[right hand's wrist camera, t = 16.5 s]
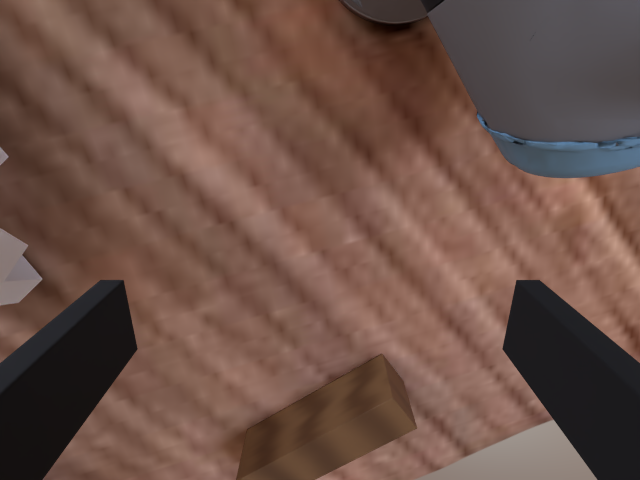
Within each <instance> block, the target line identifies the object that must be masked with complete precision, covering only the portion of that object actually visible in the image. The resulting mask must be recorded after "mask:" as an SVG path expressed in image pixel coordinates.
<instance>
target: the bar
mask: <svg viewBox="0 0 640 480" xmlns="http://www.w3.org/2000/svg"><path fill="white" fill-rule="evenodd" d="M415 429H417V426H416V423H415V419H414V416H413V412H412V409H411V406H410V402H409V399H408V395H407V392H406V389H405V385H404V382H403V380H402V379H401V378H400V376H399V375H398V374H397V372H396V371H395V370H394V368H393V367H392V366H391V365H390V363H389V362H388V361H387V359H386V358H385V357H384V356H383V354H381V355H379V356H378V357H376V358H374V359H372V360H370V361H369V362H367V363H365V364H363V365H362V366H360V367H358V368H356V369H354V370H353V371H351V372H349V373H347V374H346V375H344V376H342V377H340V378H338V379H337V380H335V381H333V382H331V383H329V384H328V385H326V386H324V387H322V388H321V389H319V390H317V391H315V392H313V393H312V394H310V395H308V396H306V397H305V398H303V399H301V400H299V401H297V402H296V403H294V404H292V405H290V406H288V407H287V408H285V409H283V410H281V411H280V412H278V413H276V414H274V415H272V416H271V417H269V418H267V419H265V420H264V421H262V422H260V423H258V424H256V425H255V426H253V427H251V428H249V429H247V433H246V437H245V442H244V446H243V451H242V456H241V460H240V465H239V469H238V474H237V478H236V480H315V479H317V478H319V477H321V476H323V475H325V474H327V473H329V472H331V471H333V470H335V469H337V468H339V467H341V466H343V465H345V464H347V463H349V462H351V461H353V460H355V459H357V458H359V457H361V456H363V455H365V454H367V453H369V452H371V451H373V450H375V449H377V448H379V447H381V446H383V445H385V444H387V443H389V442H391V441H393V440H395V439H397V438H399V437H401V436H403V435H405V434H407V433H409V432H411V431H413V430H415Z"/></svg>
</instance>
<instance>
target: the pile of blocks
mask: <svg viewBox="0 0 640 480" xmlns="http://www.w3.org/2000/svg"><path fill="white" fill-rule="evenodd" d="M8 157H9V156H8V155H7V154H6V153H5V152H4V151H3V150H2V148H1V147H0V165H1V164H2V163H3V162H4V161H5V160H6V159H7V158H8ZM28 246H29V245H27V244H26V243H24V242H22V241H21V240H19V239H17V238H16V237H14V236H12V235H11V234H9V233H7V232H6V231H4V230H3V229H1V228H0V305H6V304H14V303H19V302H20V301H21V300H22V299H23V298H24V297H25V296H26V295H27V294H28V293H29V292H30V291H31V290H32V289H33V288H34V287H35V286H36V285H37V284H38V283H39V282H40V281H42V280H43V279H42V278H41V276H40V275H39V274H38V273H37V272H36V270H35V269H34V268H33V267H32V266H31V265H30V263H29V262H28V261H27V260H26V259H25V258H24V256H23V255H22V254H23V253H24V251H25V250H26V248H27V247H28Z"/></svg>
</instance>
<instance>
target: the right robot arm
mask: <svg viewBox="0 0 640 480" xmlns="http://www.w3.org/2000/svg"><path fill="white" fill-rule="evenodd" d="M339 1H340V2H341V3H342V4H343V5H344V6H345V7H347V8H348V9H349V10H350V11H351V12H353V13H354V14H356V15H357V16H359V17H361V18H363V19H365V20H368V21H370V22H373V23H377V24H382V25H403V24H409V23H413V22H416V21H419V20H421V19H423V18H425V17H427V16H428V17H429V19H430V21H431V23H432V25H433V27H434V29H435V31H436V32H437V34H438V36H439V38H440V40H441V42H442V44H443V46H444V48H445V50H446V52H447V54H448V55H449V57H450V59H451V61H452V63H453V65H454V67H455V69H456V71H457V73H458V75H459V77H460V78H461V80H462V82H463V84H464V86H465V88H466V90H467V92H468V94H469V96H470V98H471V100H472V101H473V103H474V105H475V107H476V109H477V111H478V112H477V117H478V120H479V122H480V123H481V125H482V127H483V128H484V129H485V130H487V131H488V132H489V133H490V134H491V136H492V138H493V139H494V141H495V143H496V144H497V146H498V148H499V150H500V151H501V153H502V154H503V156H504V157H505V159H506V160H507V161H508V162H509V163H511V164H513V165H515V166H517V167H518V168H519V169H521V170H523V171H525V172H527V173H530V174H534V175H538V176H544V177H552V178H580V177H591V176H599V175H605V174H610V173H616V172H620V171H625V170H629V169H633V168H636V167H640V0H339ZM136 350H137V344H136V340H135V335H134V330H133V325H132V320H131V315H130V310H129V305H128V300H127V295H126V290H125V285H124V280H100V281H99V282H98V283H97V284H95V285H94V286H93V287H92V288H90V289H89V290H88V291H87V292H86V293H84V294H83V295H82V296H81V297H80V298H78V299H77V300H76V301H75V302H74V303H72V304H71V305H70V306H69V307H68V308H66V309H65V310H64V311H63V312H62V313H60V314H59V315H58V316H57V317H55V318H54V319H53V320H52V321H51V322H49V323H48V324H47V325H46V326H45V327H43V328H42V329H41V330H40V331H39V332H37V333H36V334H35V335H34V336H33V337H31V338H30V339H29V340H28V341H27V342H25V343H24V344H23V345H22V346H20V347H19V348H18V349H17V350H16V351H14V352H13V353H12V354H11V355H10V356H8V357H7V358H6V359H5V360H4V361H2V362H1V363H0V480H43V478H44V477H45V475H46V474H47V473H48V471H49V470H50V469H51V467H52V466H53V464H54V463H55V462H56V460H57V459H58V458H59V456H60V455H61V453H62V452H63V451H64V449H65V448H66V447H67V445H68V444H69V442H70V441H71V440H72V438H73V437H74V436H75V434H76V433H77V431H78V430H79V429H80V427H81V426H82V425H83V423H84V422H85V421H86V419H87V418H88V416H89V415H90V414H91V412H92V411H93V410H94V408H95V407H96V405H97V404H98V403H99V401H100V400H101V399H102V397H103V396H104V394H105V393H106V392H107V390H108V389H109V388H110V386H111V385H112V383H113V382H114V381H115V379H116V378H117V377H118V375H119V374H120V372H121V371H122V370H123V368H124V367H125V366H126V364H127V363H128V361H129V360H130V359H131V357H132V356H133V355H134V353H135V352H136ZM503 350H504V352H505V353H506V355H507V356H508V357H509V359H510V360H511V361H512V363H513V364H514V366H515V367H516V368H517V370H518V371H519V372H520V374H521V375H522V377H523V378H524V379H525V381H526V382H527V383H528V385H529V386H530V388H531V389H532V390H533V392H534V393H535V394H536V396H537V397H538V399H539V400H540V401H541V403H542V404H543V405H544V407H545V408H546V410H547V411H548V412H549V414H550V415H551V416H552V418H553V419H554V421H555V422H556V423H557V425H558V426H559V427H560V429H561V430H562V431H563V433H564V434H565V436H566V437H567V438H568V440H569V441H570V442H571V444H572V445H573V447H574V448H575V449H576V451H577V452H578V453H579V455H580V456H581V458H582V459H583V460H584V462H585V463H586V464H587V466H588V467H589V469H590V470H591V471H592V473H593V474H594V475H595V477H596V478H597V480H640V363H639V362H638V361H636V360H635V359H634V358H633V357H632V356H630V355H629V354H628V353H627V352H626V351H624V350H623V349H622V348H621V347H619V346H618V345H617V344H616V343H615V342H613V341H612V340H611V339H610V338H609V337H607V336H606V335H605V334H604V333H603V332H601V331H600V330H599V329H598V328H597V327H595V326H594V325H593V324H592V323H591V322H589V321H588V320H587V319H586V318H585V317H583V316H582V315H581V314H580V313H578V312H577V311H576V310H575V309H574V308H572V307H571V306H570V305H569V304H568V303H566V302H565V301H564V300H563V299H562V298H560V297H559V296H558V295H557V294H556V293H554V292H553V291H552V290H551V289H550V288H548V287H547V286H546V285H545V284H543V283H542V282H541V281H540V280H516V285H515V290H514V295H513V300H512V305H511V310H510V315H509V320H508V325H507V330H506V335H505V340H504V344H503Z"/></svg>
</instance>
